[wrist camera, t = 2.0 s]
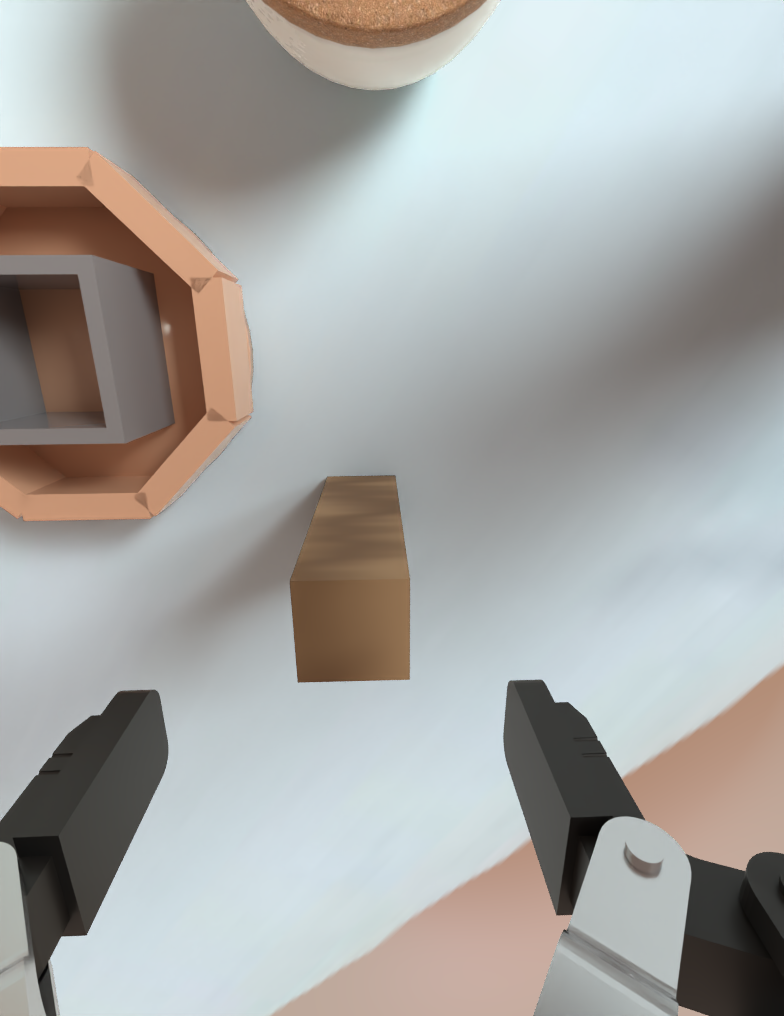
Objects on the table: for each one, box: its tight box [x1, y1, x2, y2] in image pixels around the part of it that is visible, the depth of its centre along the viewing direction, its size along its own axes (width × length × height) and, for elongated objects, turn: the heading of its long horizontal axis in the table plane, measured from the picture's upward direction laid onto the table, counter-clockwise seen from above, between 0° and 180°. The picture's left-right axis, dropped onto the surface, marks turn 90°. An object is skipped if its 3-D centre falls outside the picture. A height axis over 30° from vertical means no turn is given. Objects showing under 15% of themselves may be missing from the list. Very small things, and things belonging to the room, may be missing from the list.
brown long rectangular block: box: [290, 476, 410, 682], centre depth 21 cm, size 4×4×12 cm
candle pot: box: [0, 147, 253, 521], centre depth 21 cm, size 14×14×6 cm
